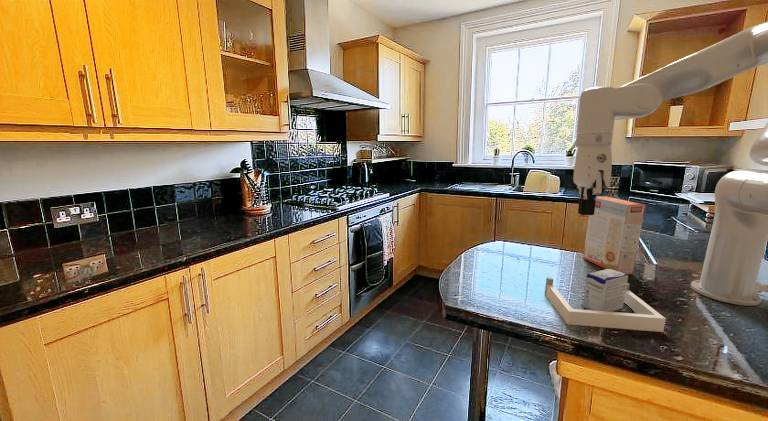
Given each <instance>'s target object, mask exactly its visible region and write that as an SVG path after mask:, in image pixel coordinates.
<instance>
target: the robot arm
mask: <svg viewBox="0 0 768 421" xmlns="http://www.w3.org/2000/svg"><path fill="white" fill-rule="evenodd" d="M766 64H768V21H767V20H766V21H765V22H762V23H759V24H756V25H753V26H751V27H748V28H746V29H744V30H742V31H739V32H738V33H735V34H733V35H731V36H729V37H727V38H724V39H722V40H721V41H718V42H716V43H714V44H712V45H710V46H708V47H707V46H706V47H705V48H704V49H701V50H699V51H696V52H694V53H692V54H690V55H687V56H685V57H683V58H681V59H678V60H677V61H674V62H672V63H670V64H668V65H666V66H664V67H661V68H660V69H657V70H655V71H653V72H651V73H648V74H646V75H644V76H641V77H639V78H637V79H635V80H633V81H631V82H628V83H626V84H624V85H621V86H615V87H613V86H595V87H589V88H586V89H584V90H583V91H581V93H580V96H579V105H578V116H577V126H576V127H577V128H576V135H575V136H576V137H575V146H574V147H575V148H577V150H576V155H575V160H574V166H573V178H572V179H573V184H575V185H576V188H577V189H578V198H579V199H578V200H579V201H578V208H577V214H580V215H581V216H589V215H594V211H595V202H596V199H597V197H598V195H601V194H602V189H609V188H610V186H611V181H612V180H611V179H612V170H613V169H612V163H613V161H612V160H613V158H612V152H613V151H612V144H613V138H614V127H615V121H617V120H631V119H640V118H643V117H647V116H649V115H652V114H653V113H654V112H655V111H657V109H658V108H659V107H660V105H661V104H662V102H664V101H668V100H671V99H675V98H679V97H683V96H689V95H693V94H696V93H699V92H701V91H705V90H707V89H710V88H712V87H714V86H717V85H719V84H721V83H723V82H725V81H728V80H730V79H732V78H734V77H737V76H738V75H739V76H740V75H741V74H744V73H746V72H748V71H750V70H753V69H756V68H758V67H760V66H763V65H766ZM749 157H750V159H751V160H752V161H753V162H754V163H756V164H758V165H761V166H764V167H768V122H766V124H765V125H764V126H763V128H762V130H761V132H760V133H759V134H758V136H757V137H756V139H755V140H754V142H753V143H752V145H751V146H750V150H749ZM767 243H768V170H763V169H755V168H750V169H749V168H747V169H745V168H742V169H736V170H733V171H730V172H727V173H726V174H724V175H723V176H721V178H720V179H719V180H718V181H717V183H716V186H715V189H714V216H713V223H712V227H711V231H710V235H709V239H708V243H707V247H706V252H705V257H704V260H703V261H704V262H703V266H702V270H701V273H700V274H701V275H700V279H696V280H695V279H694V280H692V281H691V283H690V289H691V290H693V291H694V292H696V293H698V294H700V295H702V296H704V297H706V298H710V299H713V300H715V301H719V302H724V303H727V304H733V305H737V306H750V307H751V306H758V305H761V303H762V297H761V296H760V295H759V294H760V293H762V292H764V293H768V283H767V284H766V283H764V284H762V283H761V282H760V281H758V280H757V279H758V276H759V273H760V270H761V269H760V268H761V265H762V260H763V258H764V254H765V249H766V246H767Z"/></svg>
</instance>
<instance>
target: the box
mask: <svg viewBox="0 0 768 421" xmlns="http://www.w3.org/2000/svg"><path fill="white" fill-rule="evenodd" d="M628 280H629V274H624V273H621V272H618V271H615V270H612V269H602V270H598V271H594V272H593V271H592V272H588V273H587V274H586V282H585V286H584V296H583V302H582V307H583V308H585V309H586V310H594V311H607V312H616V311H618V310H621V309H623V308H624V298H625V292H626V286H627V283H628Z"/></svg>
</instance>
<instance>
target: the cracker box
mask: <svg viewBox="0 0 768 421" xmlns="http://www.w3.org/2000/svg"><path fill="white" fill-rule="evenodd" d="M645 210H646V204H643V203H638V202H635V201H634V202H633V201H630V200H625V199H620V198H616V197H612V196H611V197H610V196H606V195H605V196H597V199H596V202H595V211H594V215H588V220H587V221H588V222H587V227H586V235H585V242H584V249H583V255H582V259H583V260H585V261H587V260H588V261H587V262H589V261H590V263H591V262H592V264H593V263H594V265H595V264H596V265H595V266H597V265H598V267H599V266H600V267H599V268H601V267H602V269H603V268H604V269H603V270H605V269H612V270H615V271H618V272H621V273H624V274H627V275H634V270H635V266H636V260H637V254H638V251H639V250H638V248H639V244H640V237H641V234H642V233H641V232H642V227H643V222H644V215H645Z"/></svg>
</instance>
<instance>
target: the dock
mask: <svg viewBox="0 0 768 421" xmlns="http://www.w3.org/2000/svg"><path fill="white" fill-rule="evenodd" d="M630 286H631V285H630V283H629V282H627V286H626V292H625V298H624V303H625V304H627V305H628V306H629V307H630V308H631V309H632V310H633V311H634V312H633V311H632V310H631V309H630V308H629V307H628V306H627V307H628V308H629V309H630V310H631V311H632V312H633V313H630V312H619V311H612V312H607V311H594V310H589V309H579V308H572V306H571V304H569V302H568V301H567V300H566V299H565V298H564V296H563V295H562V294H561V293H560V292H559V290H558V289H557V288H556V287H555V286H554V278H553V277H549V276H547V277H546V280H545V288H544V294H545V296H546V297H547V299H548V300H549V301H550V303H551V304H552V305H553V307H554V309H556V311H557V313H558V314H559V315H560V317H561V318H562V319H563V321H564V322H565V324H566V325H572V326H573V325H574V326H584V327H585V326H586V327H597V328H608V329H621V330H632V331H644V332H647V331H648V332H658V333H663V332H664V329H665V324H666V321H667V318H666V317H665V316H663V315H662V314H660V313H659V312H658V311H657V310H655V309H654V308H653V307H651V306H650V305H649V304H648V303H646V302H645V301H644V300H643V299H642V298H640V297H638V296H637V295H636V294H635V293H633V291H631V290H630ZM624 303H623V304H624ZM625 304H624V305H625Z"/></svg>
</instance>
